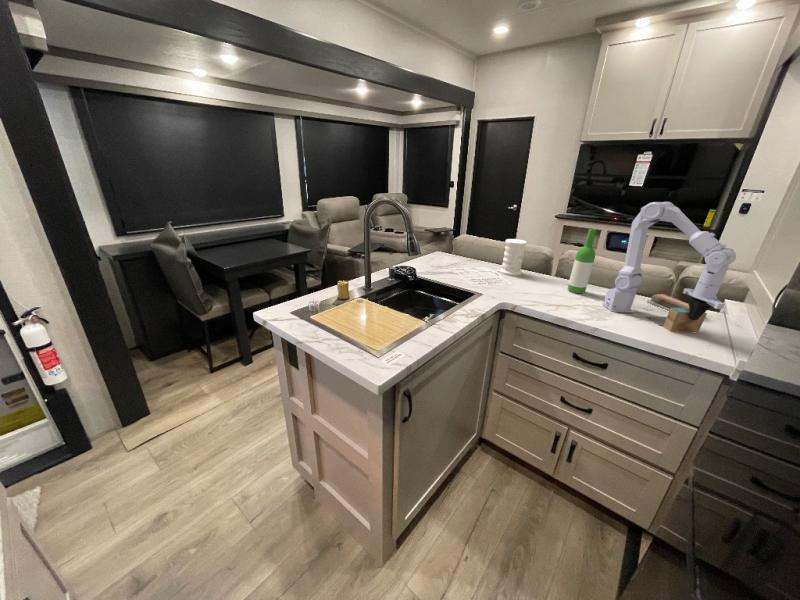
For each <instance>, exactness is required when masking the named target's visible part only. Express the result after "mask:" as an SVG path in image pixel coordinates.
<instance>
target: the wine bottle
mask: <svg viewBox="0 0 800 600" xmlns="http://www.w3.org/2000/svg"><path fill="white" fill-rule="evenodd" d="M596 233H597V229H596V228H588V231H587V235H586V238H585V241H584V245H583V246H582V247H580V248H579V249H578V250H577V252H576V254H575V258H574V261H573V265H572V270H571V272H570V273H571V274H570V277H569V281H568V285H567V290H568V291H569V292H570V293H574V294H578V295H579V294H584V293H585V292H586V290H587V287H588V284H589V280H590V276H591V273H592V269H593V267H594V263H595V262H594V261H595V258H596V251H595V249H594V248H593V244H594V240H595V236H596Z"/></svg>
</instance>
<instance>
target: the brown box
mask: <svg viewBox="0 0 800 600" xmlns="http://www.w3.org/2000/svg"><path fill="white" fill-rule="evenodd" d="M666 317H667V318H666V320H665V323H664V325H663V326H662V327H663V328H665V329H666V330H668V331H669V332H679V333H693V332H696V333H697V334H698V333H699V331H700V329H701V327H702V325H703V323H704V321H705V319H706V318H707V313H706V312H704V313H703V314H702V315H701V316H700V318H699V319H698V320H691V319H689V309H685V308H670V311H669V312H667V316H666ZM705 317H706V318H705Z"/></svg>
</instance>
